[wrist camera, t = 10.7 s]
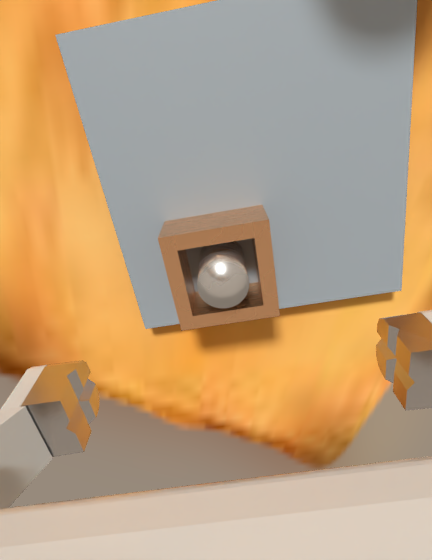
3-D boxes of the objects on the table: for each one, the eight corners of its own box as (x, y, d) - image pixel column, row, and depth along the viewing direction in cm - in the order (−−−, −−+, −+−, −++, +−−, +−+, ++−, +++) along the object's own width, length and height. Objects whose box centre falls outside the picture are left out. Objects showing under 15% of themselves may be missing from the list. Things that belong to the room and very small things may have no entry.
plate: (148, 318, 31) (145, 328, 29) (65, 38, 22) (55, 34, 21) (392, 281, 29) (401, 290, 28) (406, -34, 21) (419, -43, 19)
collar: (184, 305, 28) (181, 330, 25) (164, 221, 25) (157, 238, 22) (272, 291, 28) (280, 316, 25) (262, 204, 25) (269, 219, 22)
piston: (204, 280, 27) (202, 311, 23) (195, 240, 26) (192, 266, 22) (246, 274, 27) (252, 304, 23) (240, 233, 26) (245, 258, 22)
